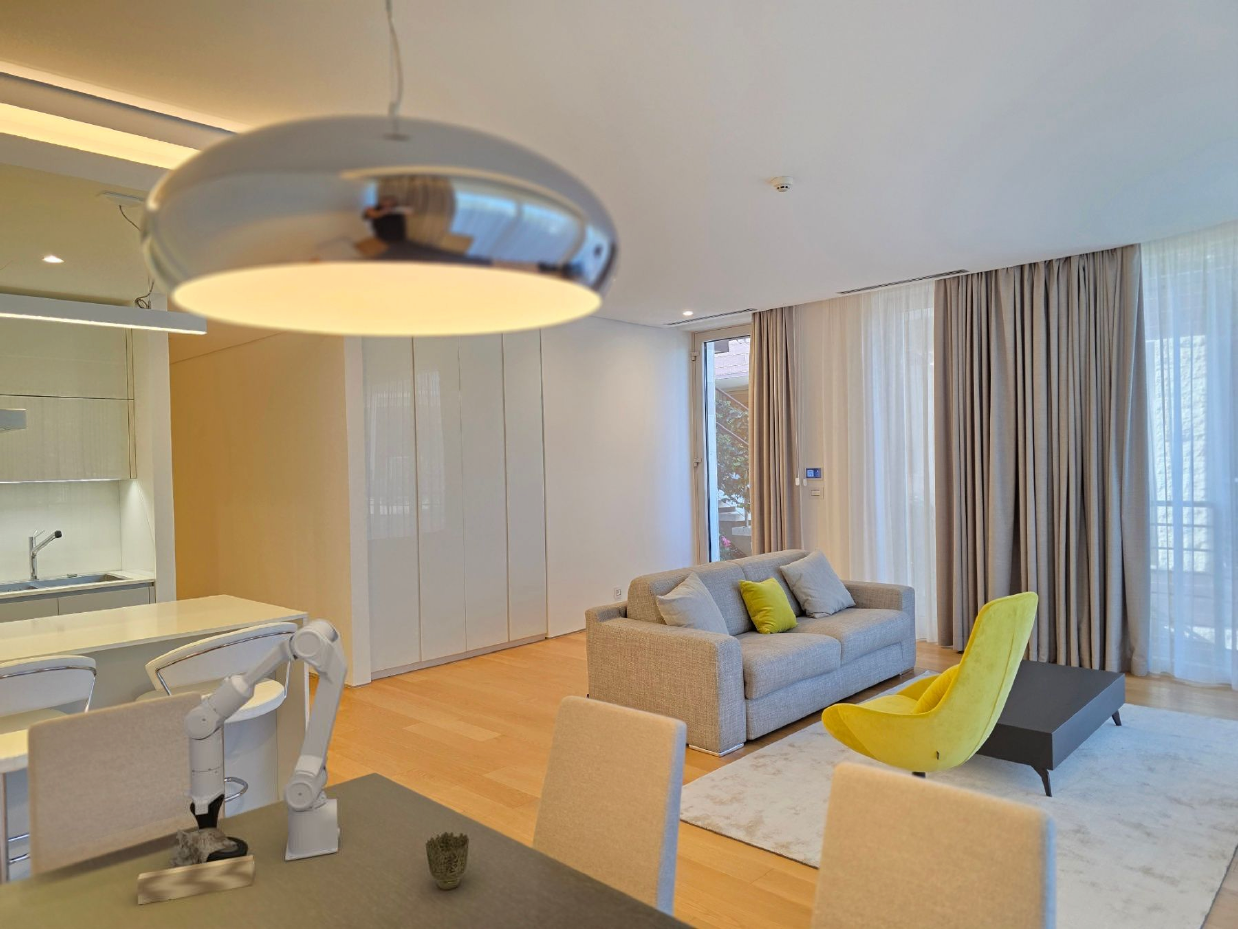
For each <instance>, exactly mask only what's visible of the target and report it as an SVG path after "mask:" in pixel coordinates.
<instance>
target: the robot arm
mask: <svg viewBox="0 0 1238 929" xmlns="http://www.w3.org/2000/svg"><path fill="white" fill-rule="evenodd" d="M341 642H342V641H341V634H340V632H339V631H338V629H337V628H335V626H334V625H333V624H332V623H331V622H330V621H328V620H326V619H322V618H317V619H313V620H311V621H310V622H308V623H307V624H306V625H305V626H304V627H301V628H300V629H297V631H294V632H293V633H292V634H291V635H289V636H287V637H286V638H284V639H282V640H281V641H280V642H279V643H277V644H276V645H275V646H274V647H272V649H270V650H269V651H268V652H267V653H266V654H265V655H264V656H263V657H262V658H261V659H259V660H258V662H256V663H255V664H254V665H253V666H252V667H251V668H249V670H248V671H247V672H246V673H244V674H233V675H232V676H230V678H229V676H227V677H225V678H224V679H222V680H221V681H220V682H219V684H220V686H219V687H217V689H215V690H214V692H212V693H211V694H210V695H205V696H204V697H203V698H201V699H200V701H201V703H200V704H199V705H198V706H197V707H194V708H192V709H191V710H190V711H189V712H188V713H187V715H186V716H185V718H184V720H183V724H182V725H183V730H184V732H185V734H186V735H187V736H188V754H189V756H188V758H189V759H188V760H189V783H190V785H189V786H190V787H189V789H190V790H185V791H184V792H183V798H184V799H186V798H187V799H188V798H189V799H190V800H191V801H192V802H190V805H189V811H190V812H191V813H192V815H193V817H194V818H195V821H196V823H197V827H198V830H200V829H204V828H217V826H218V820H219V814H220V810H221V807H222V805H223V802H224V800H225V794H224V792H225V790H226V786H225V785H224V763H223V762H224V759H223V758H224V757H223V739H222V738H223V737H222V726H223V725H224V723H225V721H228V720H229V719H230V718H231V717H232V716H234V714H235V713H237V712H238V711H239V710H240V709H241V708H242V707H244V706H245V705H246V704H247V703H248V702H249V701H251V699H253V697H254V696H255V688H256V686H257V685H258V684H259V683H260V682H262V681H263V680H264V679H266V678H267V677H268V676H269V675H270V674H272V672H274V671H275V670H276V669H277V668H279V666H281V665H282V664H284V663H285V662H287V663H288V662H295V661H297V660H298V659H300V660H301V661H303V662H304V663H306V664H307V665H309V666H311V667H312V668H313V670H314V672H316V673H317V675H319V680H318V683H317V687H316V691H315V694H314V699H313V702H312V703H313V704H312V706H311V711H310V715H309V719H308V723H307V727H306V731H305V735H304V739H303V743H302V746H301V751H300V755H299V758H298V760H297V762H296V764H295V767H294V769H293V774H292V776H291V779H290V780H288V782H287V784H285V786H284V789H283V794H282V797H283V801H284V803H285V804H286V810H287V811H286V812H287V813H286V815H287V818H286V820H287V843H286V850H285V854H284V856H285V857H284V860H285V861H294V860H299V859H305V858H310V857H317V856H322V855H329V854H335V853H338V851H339V838H340V837H341V834H340V833H341V832H340V831H341V830H340V827H339V825H338V823H339V822H338V799H337V798H327V795H326V793H325V791H324V788H325V786H326V785H327V783H328V781H329V780H328V779H329V773H328V770H327V765H328V764H327V763H328V760H329V759H328V750H329V746H330V743H331V738H332V735H333V731H334V727H335V723H336V719H337V714H338V711H339V706H340V703H341V699H342V694H343V690H344V686H345V682H346V679H347V675H348V672H349V671H348V670H349V664H348V661H347V658H346V655H345V651H344V647H343V646H342V643H341ZM217 829H218V828H217Z"/></svg>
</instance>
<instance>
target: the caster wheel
mask: <svg viewBox="0 0 1238 929" xmlns="http://www.w3.org/2000/svg"><path fill="white" fill-rule="evenodd" d="M175 835H176V836H175V839H174V843H173V847H172V850H171V855H170V860H169V865H170V866H171V867H173V868H178V867H184V866H190V865H195V864H201V863H207V862H213V861H219V860H225V859H231V858H237V857H243V856H248V850H249V846H248V845H249V844H247V842H245V841H244V840H242V839H241V838H237V837H234V836H226V833H224V832H223V831H222V830H221V829H219V828H204V829H200V830H199V829H197V830H195V831H191V832H186V831H183V830H182V829H180V828H178V829H177V832H176V834H175Z"/></svg>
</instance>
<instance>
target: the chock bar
mask: <svg viewBox="0 0 1238 929" xmlns="http://www.w3.org/2000/svg"><path fill="white" fill-rule="evenodd" d="M253 855H254V854H250V855H247V856H243V857H237V858H231V859H225V860H219V861H213V862H207V863H201V864H195V865H190V866H184V867H178V868H175V867H173V868H168V869H167V868H165V869H159V870H154V871H150V872H149V871H148V872H143V873H140V874H139V876H138V878H137V904H138V906H140V905H139V904H143V905H147V904H146V903H149V904H151V903H150V902H154V903H158V902H157V901H160V902H163V901H170V900H169V899H171V900H175V899H176V900H177V899H182V898H186V897H187V898H188V897H193V896H199V895H203V894H209V893H215V892H221V891H226V890H231V889H236V888H243V887H249V886H253V883H254V880H255V874H256V872H255V871H256V864H255V860H254V857H253ZM181 897H182V898H181Z"/></svg>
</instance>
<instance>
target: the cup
mask: <svg viewBox="0 0 1238 929" xmlns="http://www.w3.org/2000/svg"><path fill="white" fill-rule="evenodd" d="M469 839H470V838H469V836H468V835H467V834H464V833H462V832H461V833H459V836H454V832H452V831H451V832H450V833H448V832H447V831H444V832H443V833H442V834H441V836H440V835H439V834H436V836H435V839H434V837H432V836H431V837H430V838H429V839H427V842H425V848H426V857H427V863H428V868H429V871H430V874H431V876H432V877H433V878H434V879H435V880H436V881H437V885H438V887H439V888H440V889H441V890H444V891H449V890H453V889H455V888H456V887H458V885H459V883H460V877H461V876H462V875H463V874H464V872H466V871H465V870H466V868H467V864H468V855H469V854H468V853H469V843H470V840H469Z"/></svg>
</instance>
